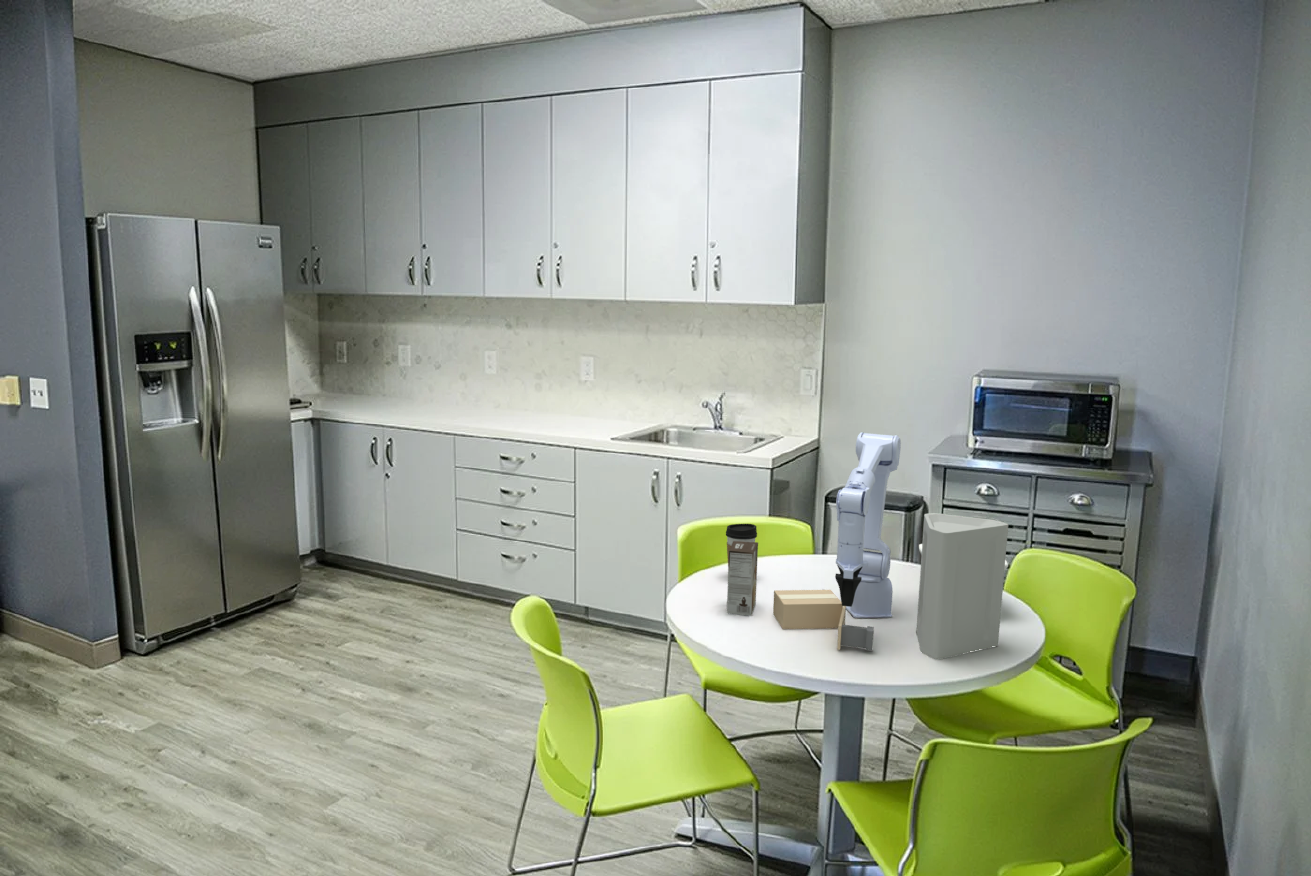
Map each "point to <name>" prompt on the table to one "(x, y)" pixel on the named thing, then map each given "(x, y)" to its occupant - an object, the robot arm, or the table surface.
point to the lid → (854, 634)
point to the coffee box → (742, 578)
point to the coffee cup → (740, 534)
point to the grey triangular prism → (960, 584)
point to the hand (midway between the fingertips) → (847, 600)
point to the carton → (807, 609)
